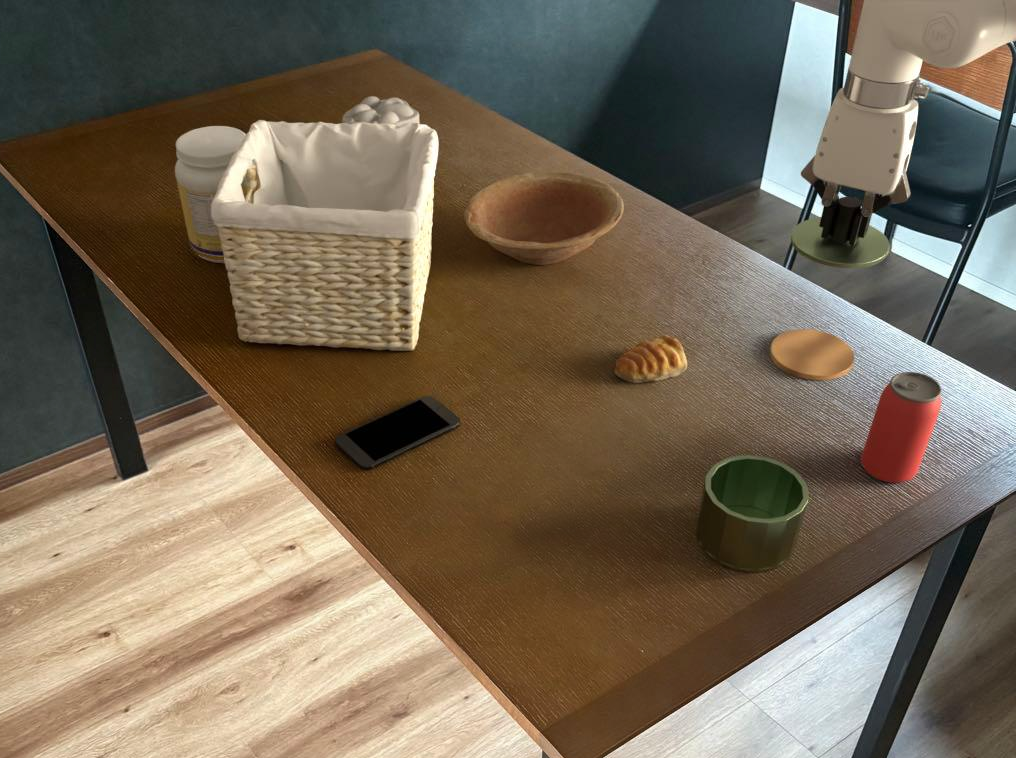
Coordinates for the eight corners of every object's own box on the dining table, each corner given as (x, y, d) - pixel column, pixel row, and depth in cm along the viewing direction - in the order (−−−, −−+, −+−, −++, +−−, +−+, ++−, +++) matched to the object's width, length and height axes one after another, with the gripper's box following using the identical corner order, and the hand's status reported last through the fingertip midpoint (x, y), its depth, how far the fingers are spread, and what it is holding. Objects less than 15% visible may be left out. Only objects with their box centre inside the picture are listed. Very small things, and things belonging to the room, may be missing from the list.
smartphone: (464, 425, 135) (464, 419, 134) (364, 473, 128) (364, 468, 128) (429, 397, 139) (429, 392, 139) (331, 443, 133) (330, 437, 132)
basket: (445, 258, 165) (441, 117, 150) (428, 359, 146) (422, 209, 130) (270, 253, 166) (249, 113, 151) (231, 352, 147) (202, 203, 132)
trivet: (863, 348, 147) (865, 343, 146) (837, 389, 140) (839, 384, 140) (786, 325, 151) (787, 320, 151) (757, 364, 144) (758, 359, 144)
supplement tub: (212, 222, 173) (192, 118, 161) (282, 232, 171) (267, 127, 159) (176, 260, 165) (153, 153, 153) (250, 271, 162) (232, 163, 151)
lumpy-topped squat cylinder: (426, 157, 190) (424, 108, 184) (358, 173, 186) (354, 123, 180) (402, 135, 197) (399, 87, 191) (335, 149, 192) (330, 101, 186)
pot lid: (898, 240, 136) (912, 194, 132) (870, 282, 129) (884, 235, 124) (808, 217, 140) (818, 171, 136) (776, 256, 133) (786, 209, 129)
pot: (807, 527, 122) (822, 476, 116) (773, 586, 115) (787, 535, 110) (718, 493, 126) (728, 443, 121) (680, 549, 119) (689, 498, 114)
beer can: (862, 445, 132) (887, 364, 124) (918, 456, 130) (948, 375, 122) (857, 478, 128) (883, 396, 119) (915, 490, 126) (945, 408, 118)
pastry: (632, 394, 140) (635, 369, 137) (603, 368, 144) (605, 344, 141) (690, 373, 143) (694, 348, 140) (660, 348, 147) (663, 324, 145)
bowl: (496, 203, 177) (497, 157, 172) (636, 229, 171) (641, 181, 166) (441, 273, 162) (439, 224, 156) (593, 303, 155) (597, 253, 150)
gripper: (962, 91, 120) (915, 241, 133) (819, 62, 126) (788, 208, 139) (944, 114, 115) (897, 268, 128) (797, 83, 121) (767, 233, 134)
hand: (841, 236), depth 133 cm, fingers closed on pot lid, 2 cm apart
